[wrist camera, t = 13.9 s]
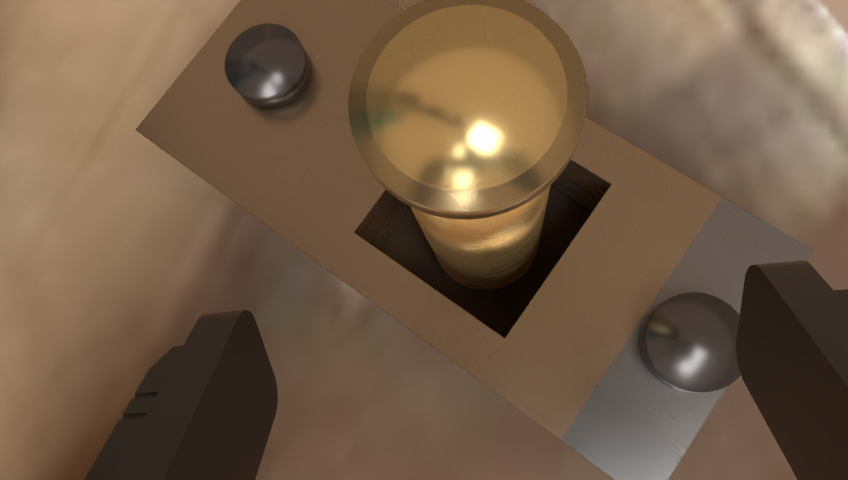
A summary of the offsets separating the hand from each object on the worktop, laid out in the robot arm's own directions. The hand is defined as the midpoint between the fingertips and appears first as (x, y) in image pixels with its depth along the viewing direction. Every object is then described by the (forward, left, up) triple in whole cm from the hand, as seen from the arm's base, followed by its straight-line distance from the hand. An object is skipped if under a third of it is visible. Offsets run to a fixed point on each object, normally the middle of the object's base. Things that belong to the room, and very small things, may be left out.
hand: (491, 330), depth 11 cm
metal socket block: (-5, +4, -13) cm, 14 cm away
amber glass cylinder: (-3, +4, -13) cm, 14 cm away
